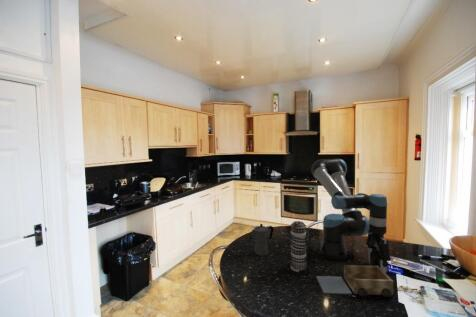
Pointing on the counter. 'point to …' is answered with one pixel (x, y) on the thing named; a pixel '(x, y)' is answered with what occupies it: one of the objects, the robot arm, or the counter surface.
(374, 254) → the supplement bottle
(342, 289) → the grey square plate
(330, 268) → the counter surface
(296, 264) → the decorative candle
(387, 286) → the truck bed
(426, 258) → the counter surface
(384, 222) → the robot arm
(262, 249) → the coffeepot
